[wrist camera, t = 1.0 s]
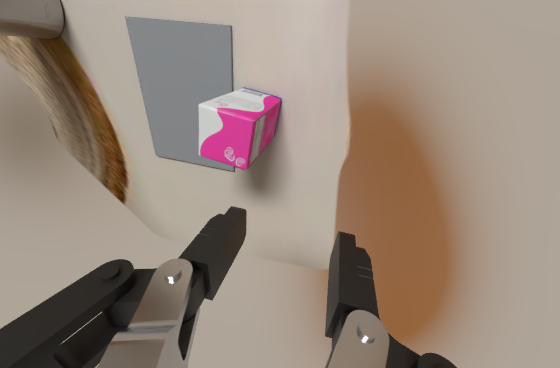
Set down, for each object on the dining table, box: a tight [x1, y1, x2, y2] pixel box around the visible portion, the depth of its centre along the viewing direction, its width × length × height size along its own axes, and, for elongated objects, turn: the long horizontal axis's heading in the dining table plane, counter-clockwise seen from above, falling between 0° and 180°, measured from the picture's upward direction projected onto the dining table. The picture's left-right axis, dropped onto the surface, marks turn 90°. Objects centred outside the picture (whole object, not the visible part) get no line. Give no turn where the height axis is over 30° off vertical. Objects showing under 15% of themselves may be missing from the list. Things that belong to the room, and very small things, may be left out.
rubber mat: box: [125, 17, 235, 171], centre depth 33 cm, size 15×20×1 cm
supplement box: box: [198, 88, 282, 170], centre depth 26 cm, size 6×6×12 cm
